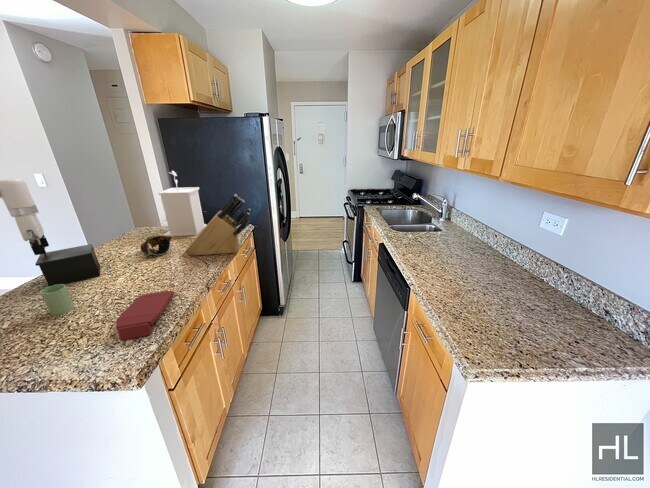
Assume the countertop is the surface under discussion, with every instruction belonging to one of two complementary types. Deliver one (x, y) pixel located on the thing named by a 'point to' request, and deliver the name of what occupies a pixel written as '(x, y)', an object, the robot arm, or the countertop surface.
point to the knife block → (221, 231)
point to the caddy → (71, 270)
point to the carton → (142, 314)
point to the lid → (64, 254)
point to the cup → (57, 299)
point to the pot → (156, 240)
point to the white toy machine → (182, 210)
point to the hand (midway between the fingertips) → (42, 250)
